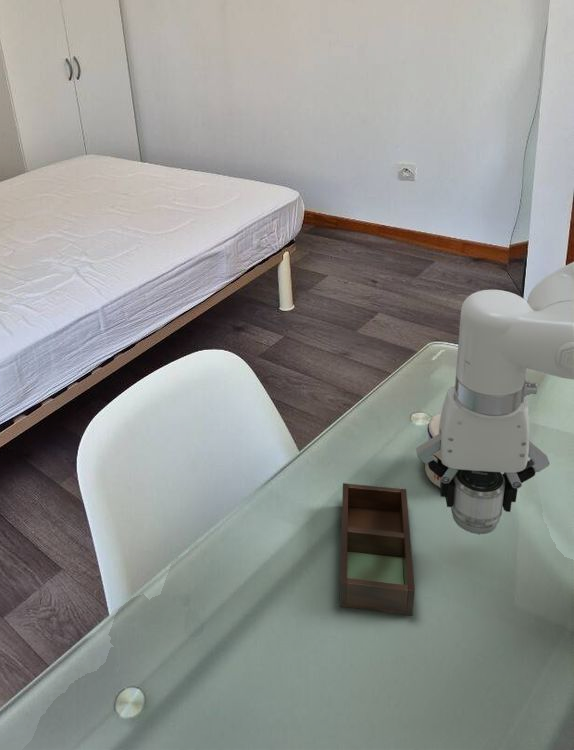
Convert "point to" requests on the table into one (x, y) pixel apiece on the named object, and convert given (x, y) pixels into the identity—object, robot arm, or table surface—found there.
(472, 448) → the robot arm
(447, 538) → the table surface
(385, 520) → the holder
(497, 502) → the camera lens
